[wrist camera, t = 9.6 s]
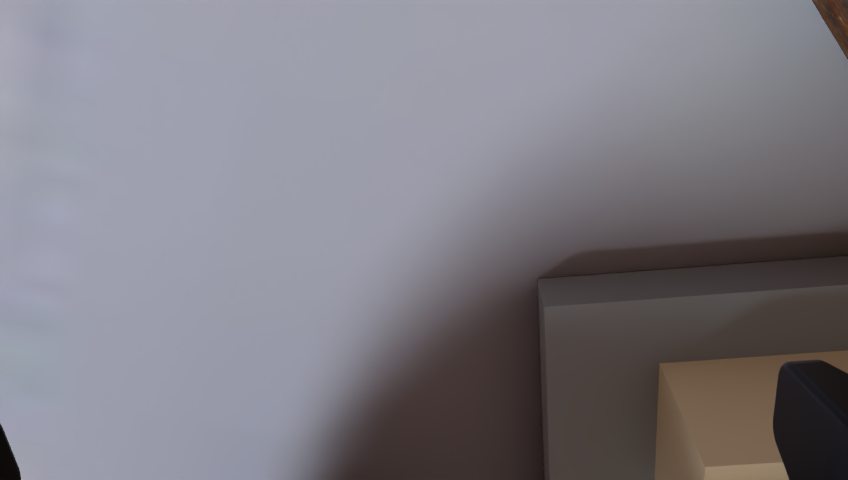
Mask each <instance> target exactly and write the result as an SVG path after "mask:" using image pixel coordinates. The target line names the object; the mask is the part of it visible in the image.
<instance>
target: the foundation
mask: <svg viewBox="0 0 848 480" xmlns="http://www.w3.org/2000/svg"><path fill="white" fill-rule="evenodd" d="M538 307H539V336H540V365H541V394H542V424H543V453H544V480H789V478H788V475H787V472H786V469H785V467H784V464H783V461H782V459H781V456H780V453H779V450H778V448H777V445H776V442H775V438H774V433H773V415H774V406H775V398H776V389H777V381H778V374H779V370H780V368H781V366H782V365H783V364H784V363H786V362H789V361H802V360H816V359H817V360H822V361H825V362H827V363H829V364H831V365H833V366H835V367H837V368H839V369H840V370H842V371H844V372H846V373H848V256H837V257H824V258H810V259H797V260H784V261H770V262H757V263H744V264H731V265H717V266H704V267H691V268H677V269H664V270H651V271H637V272H624V273H611V274H597V275H584V276H571V277H557V278H544V279H538Z"/></svg>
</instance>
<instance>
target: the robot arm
mask: <svg viewBox="0 0 848 480" xmlns="http://www.w3.org/2000/svg"><path fill="white" fill-rule="evenodd" d="M773 433H774V438H775V442H776V445H777V448H778V450H779V453H780V456H781V459H782V461H783V464H784V467H785V469H786V472H787V475H788V478H789V480H848V373H846V372H844V371H842V370H840V369H839V368H837V367H835V366H833V365H831V364H829V363H827V362H825V361H822V360H817V359H816V360H802V361H789V362H786V363H784V364H783V365H782V366H781V368H780V370H779V374H778V381H777V389H776V398H775V406H774V415H773ZM0 480H21V476H20V471H19V467H18V465H17V462H16V460H15V457H14V455H13V452H12V450H11V447H10V445H9V442H8V440H7V437H6V435H5V432H4V430H3V428H2V426H1V424H0Z"/></svg>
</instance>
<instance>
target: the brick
mask: <svg viewBox="0 0 848 480" xmlns="http://www.w3.org/2000/svg"><path fill="white" fill-rule="evenodd" d="M812 1H813V3H814V4H815V6H816V8H817V9H818V11H819V13H820V14H821V16H822V18H823V19H824V21H825V23H826V24H827V26H828V28H829V29H830V31H831V33H832V34H833V36H834V37H835V39H836V41H837V42H838V44H839V46H840V47H841V49H842V50H843V52H844V54H845V56H846V57H847V59H848V0H812Z"/></svg>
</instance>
